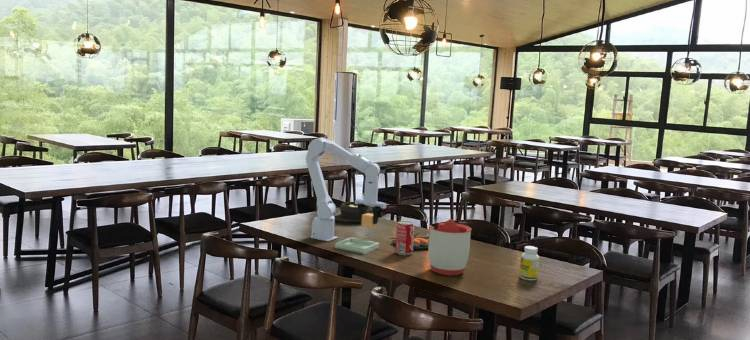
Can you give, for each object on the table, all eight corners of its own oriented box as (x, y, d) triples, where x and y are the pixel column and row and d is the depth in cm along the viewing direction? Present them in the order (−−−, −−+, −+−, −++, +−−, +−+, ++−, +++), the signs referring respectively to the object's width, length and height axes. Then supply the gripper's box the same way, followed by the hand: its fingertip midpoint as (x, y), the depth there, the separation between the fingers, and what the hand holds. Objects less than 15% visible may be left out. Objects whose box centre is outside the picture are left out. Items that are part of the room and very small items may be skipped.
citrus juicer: (437, 261, 236) (440, 211, 234) (476, 272, 226) (480, 219, 223) (414, 269, 224) (417, 217, 222) (453, 280, 214) (457, 226, 211)
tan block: (361, 226, 258) (362, 214, 257) (367, 224, 262) (367, 212, 261) (371, 228, 255) (372, 216, 255) (377, 226, 260) (377, 214, 259)
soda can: (412, 256, 242) (414, 225, 240) (394, 255, 243) (396, 223, 241) (413, 251, 249) (415, 221, 247) (396, 250, 250) (397, 219, 248)
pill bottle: (516, 275, 224) (519, 244, 223) (533, 275, 225) (536, 245, 223) (522, 280, 218) (525, 249, 216) (539, 281, 218) (542, 250, 217)
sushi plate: (402, 253, 248) (403, 244, 248) (377, 235, 276) (377, 227, 275) (464, 249, 258) (465, 241, 258) (434, 233, 286) (434, 225, 286)
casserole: (348, 227, 286) (348, 210, 285) (324, 219, 299) (325, 203, 298) (386, 221, 302) (387, 205, 301) (362, 214, 316) (363, 199, 315)
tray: (335, 248, 248) (335, 242, 248) (351, 242, 259) (351, 237, 258) (364, 254, 241) (364, 248, 241) (379, 248, 252) (379, 243, 251)
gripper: (351, 190, 257) (350, 221, 259) (381, 194, 250) (379, 226, 251) (360, 188, 263) (358, 218, 265) (389, 192, 256) (387, 224, 257)
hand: (369, 222), depth 258 cm, fingers closed on tan block, 5 cm apart
